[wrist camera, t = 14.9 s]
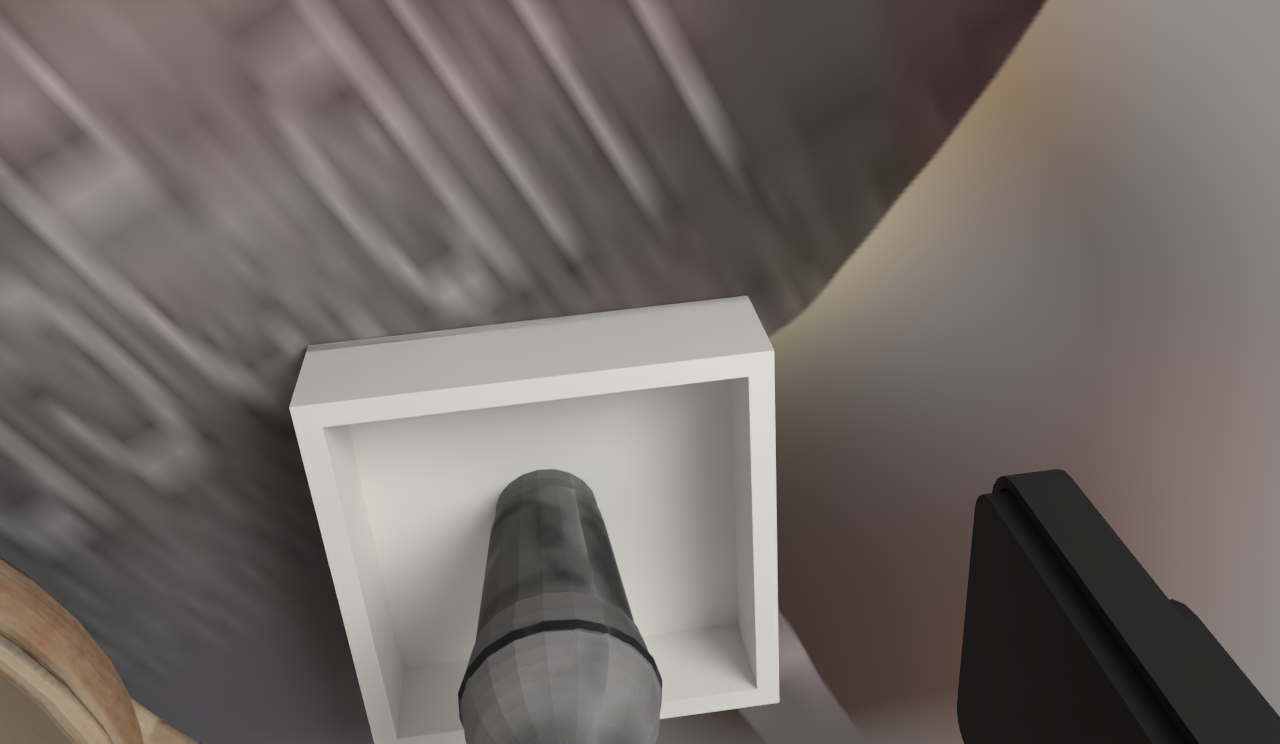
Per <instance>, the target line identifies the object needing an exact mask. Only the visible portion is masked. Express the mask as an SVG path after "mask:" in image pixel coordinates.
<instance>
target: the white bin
mask: <svg viewBox="0 0 1280 744" xmlns="http://www.w3.org/2000/svg"><path fill="white" fill-rule="evenodd" d="M774 374H775V373H774V349H773V347H772V345H771V343H770V341H769V339H768V337H767V335H766V332H765V330H764V328H763V326H762V324H761V322H760V320H759V318H758V316H757V314H756V312H755V310H754V308H753V306H752V303H751V301H750V299H749V297H748V296H739V297H730V298H721V299H712V300H704V301H695V302H686V303H677V304H668V305H660V306H651V307H642V308H633V309H625V310H616V311H607V312H598V313H589V314H581V315H572V316H563V317H554V318H546V319H537V320H528V321H519V322H510V323H502V324H493V325H484V326H475V327H466V328H458V329H449V330H440V331H431V332H423V333H414V334H405V335H396V336H387V337H379V338H370V339H361V340H352V341H343V342H335V343H326V344H317V345H308V348H307V351H306V354H305V357H304V361H303V364H302V367H301V370H300V374H299V377H298V380H297V383H296V387H295V390H294V393H293V396H292V400H291V403H290V406H289V409H290V413H291V417H292V421H293V424H294V428H295V432H296V436H297V440H298V444H299V448H300V452H301V456H302V460H303V464H304V468H305V472H306V476H307V480H308V484H309V488H310V492H311V496H312V500H313V503H314V507H315V511H316V515H317V519H318V523H319V527H320V531H321V535H322V539H323V543H324V547H325V551H326V555H327V559H328V563H329V567H330V571H331V575H332V579H333V583H334V586H335V590H336V594H337V598H338V602H339V606H340V610H341V614H342V618H343V622H344V626H345V630H346V634H347V638H348V642H349V646H350V650H351V654H352V658H353V662H354V665H355V669H356V673H357V677H358V681H359V685H360V689H361V693H362V697H363V701H364V705H365V709H366V713H367V717H368V721H369V725H370V729H371V733H372V737H373V741H374V744H466V741H465V735H464V728H463V726H462V724H461V721H460V718H459V704H458V692H459V689H460V686H461V683H462V681H463V678H464V675H465V672H466V669H467V665H468V662H469V659H470V656H471V653H472V650H473V647H474V644H475V642H476V635H477V627H478V620H479V613H480V606H481V598H482V591H483V584H484V577H485V569H486V562H487V555H488V548H489V540H490V533H491V527H492V524H493V522H494V517H495V514H496V505H497V502H498V499H499V497H500V494H501V493H502V492H503V491H504V489H505V488H506V487H507V486H508V484H509V483H511V482H512V481H514V480H515V479H517V478H518V477H520V476H521V475H523V474H526V473H529V472H533V471H536V470H546V469H556V470H560V471H564V472H569V473H571V474H573V475H575V476H576V477H578V478H580V479H582V480H583V481H584V482H585V483H586V484H587V485H588V486H589V488H590V489H591V490H592V491H593V494H594V497H595V499H596V502H597V507H598V508H599V510H600V512H601V515H602V517H603V520H604V523H605V526H606V529H607V533H608V536H609V539H610V543H611V546H612V549H613V553H614V556H615V559H616V563H617V566H618V569H619V573H620V576H621V579H622V583H623V586H624V590H625V593H626V596H627V600H628V603H629V606H630V610H631V613H632V616H633V620H634V623H635V624H636V625H637V627H638V630H639V632H640V634H641V636H642V638H643V640H644V642H645V644H646V647H647V649H648V652H649V653H650V654H651V655H652V657H653V658H654V660H655V663H656V665H657V668H658V670H659V673H660V675H661V678H662V701H661V710H660V719H665V718H671V717H678V716H686V715H693V714H701V713H708V712H714V711H722V710H729V709H737V708H744V707H751V706H758V705H765V704H772V703H779V647H778V581H777V517H776V516H777V515H776V514H777V512H776V511H777V510H776V448H775V447H776V445H775V444H776V442H775V378H774V377H775V376H774Z"/></svg>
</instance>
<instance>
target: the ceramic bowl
mask: <svg viewBox="0 0 1280 744" xmlns="http://www.w3.org/2000/svg"><path fill="white" fill-rule="evenodd" d="M0 744H200V743H199V742H197V741H195V740H194V739H192V738H190V737H189V736H187V735H185V734H184V733H182V732H181V731H179V730H177V729H176V728H174V727H173V726H171V725H170V724H168V723H166V722H165V721H163V720H162V719H160V718H159V717H157V716H156V715H154V714H153V713H152V712H150V711H149V710H148V709H146V708H145V707H144V706H142V705H141V704H139V703H138V702H137V701H135V700H134V699H133V698H131V697H130V695H129V693H128V691H127V689H126V687H125V685H124V684H123V682H122V680H121V678H120V676H119V674H118V672H117V671H116V669H115V667H114V665H113V663H112V662H111V660H110V658H109V657H108V656H107V655H106V654H105V652H104V651H103V650H102V649H101V647H100V646H99V645H98V644H97V642H96V641H95V640H94V639H93V638H92V636H91V635H90V634H89V633H88V631H87V630H86V629H85V628H84V627H83V625H82V624H81V623H80V622H79V620H78V619H77V618H76V617H75V616H74V615H73V614H72V613H71V612H69V611H68V610H67V609H66V608H65V607H64V606H63V605H61V604H60V603H59V602H58V601H57V600H56V599H55V598H54V597H52V596H51V595H50V594H49V593H48V592H47V591H46V590H44V589H43V588H42V587H41V586H40V585H39V584H38V583H37V582H35V581H34V580H33V579H32V578H31V577H29V576H28V575H26V574H25V573H23V572H22V571H20V570H19V569H17V568H15V567H14V566H12V565H11V564H9V563H8V562H6V561H5V560H3V559H2V558H0Z"/></svg>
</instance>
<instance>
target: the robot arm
mask: <svg viewBox="0 0 1280 744" xmlns="http://www.w3.org/2000/svg"><path fill="white" fill-rule="evenodd" d="M957 715H958V723H959V728H960V732H961V735H962V739H963V741H964V744H1280V717H1279V716H1278V714H1277V713H1276V712H1275V711H1274V709H1273V708H1272V707H1271V706H1270V705H1269V703H1268V702H1267V701H1266V700H1265V699H1264V697H1263V696H1262V695H1261V694H1260V692H1259V691H1258V690H1257V689H1256V687H1255V686H1254V685H1253V684H1252V683H1251V681H1250V680H1249V679H1248V678H1247V676H1246V675H1245V674H1244V673H1243V671H1242V670H1241V669H1240V668H1239V667H1238V666H1237V664H1236V663H1235V662H1234V661H1233V659H1232V658H1231V657H1230V656H1229V654H1228V653H1227V652H1226V651H1225V649H1224V648H1223V647H1222V646H1221V645H1220V643H1219V642H1218V641H1217V640H1216V638H1215V637H1214V636H1213V635H1212V634H1211V632H1210V631H1209V630H1208V629H1207V627H1206V626H1205V625H1204V624H1203V623H1202V621H1201V620H1200V619H1199V618H1198V616H1196V615H1195V614H1194V613H1193V612H1192V611H1191V610H1190V609H1189V608H1188V607H1187V606H1186V605H1185V604H1183V603H1180V602H1178V601H1175V600H1173V599H1171V600H1169V599H1168V598H1167V597H1166V595H1164V593H1163V592H1162V590H1161V589H1160V588H1159V587H1158V585H1157V584H1156V583H1155V582H1154V580H1153V579H1152V578H1151V577H1150V575H1149V574H1148V573H1147V572H1146V570H1145V569H1144V568H1143V567H1142V565H1141V564H1140V563H1139V562H1138V560H1137V559H1136V558H1135V557H1134V556H1133V554H1132V553H1131V552H1130V550H1129V549H1128V548H1127V547H1126V545H1125V544H1124V543H1123V542H1122V540H1121V539H1120V538H1119V537H1118V536H1117V534H1116V533H1115V532H1114V530H1113V529H1112V528H1111V527H1110V525H1109V524H1108V523H1107V522H1106V520H1105V519H1104V518H1103V517H1102V515H1101V514H1100V513H1099V512H1098V510H1097V509H1096V508H1095V507H1094V505H1093V504H1092V503H1091V502H1090V500H1089V499H1088V498H1087V497H1086V496H1085V494H1084V493H1083V492H1082V490H1081V489H1080V488H1079V487H1078V485H1077V484H1076V483H1075V482H1074V480H1073V479H1072V478H1071V477H1070V476H1069V475H1068V474H1067V473H1066V472H1065V471H1062V470H1059V469H1055V470H1048V471H1039V472H1031V473H1024V474H1016V475H1008V476H1002V477H1000V478H998V479H997V481H996V482H995V484H994V486H993V492H992V494H983V495H981V496H979V497H978V499H977V501H976V506H975V515H974V524H973V536H972V546H971V558H970V568H969V579H968V590H967V601H966V612H965V623H964V633H963V644H962V656H961V666H960V677H959V688H958V699H957Z"/></svg>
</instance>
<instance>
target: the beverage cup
mask: <svg viewBox="0 0 1280 744" xmlns="http://www.w3.org/2000/svg"><path fill="white" fill-rule="evenodd" d="M661 701H662V678H661V675H660V673H659V670H658V668H657V665H656V663H655V660H654V658H653V657H652V655H651V654H650V653H649V652H648V649H647V647H646V644H645V642H644V640H643V638H642V636H641V634H640V632H639V630H638V627H637V625H636V624H635V623H634V620H633V616H632V613H631V610H630V606H629V603H628V600H627V596H626V593H625V590H624V586H623V583H622V579H621V576H620V573H619V569H618V566H617V563H616V559H615V556H614V553H613V549H612V546H611V543H610V539H609V536H608V533H607V529H606V526H605V523H604V520H603V517H602V515H601V512H600V510H599V508H598V507H597V502H596V499H595V497H594V494H593V491H592V490H591V489H590V488H589V486H588V485H587V484H586V483H585V482H584V481H583V480H582V479H580V478H578V477H576V476H575V475H573V474H571V473H569V472H564V471H560V470H556V469H546V470H536V471H533V472H529V473H526V474H523V475H521V476H520V477H518V478H517V479H515V480H514V481H512V482H511V483H509V484H508V486H507V487H506V488H505V489H504V491H503V492H502V493H501V494H500V497H499V499H498V502H497V505H496V514H495V517H494V522H493V524H492V527H491V533H490V540H489V548H488V555H487V562H486V569H485V577H484V584H483V591H482V598H481V606H480V613H479V620H478V627H477V635H476V642H475V644H474V647H473V650H472V653H471V656H470V659H469V662H468V665H467V669H466V672H465V675H464V678H463V681H462V683H461V686H460V689H459V692H458V704H459V718H460V721H461V724H462V726H463V728H464V735H465V741H466V744H656V741H657V738H658V732H659V722H660V710H661Z"/></svg>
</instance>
